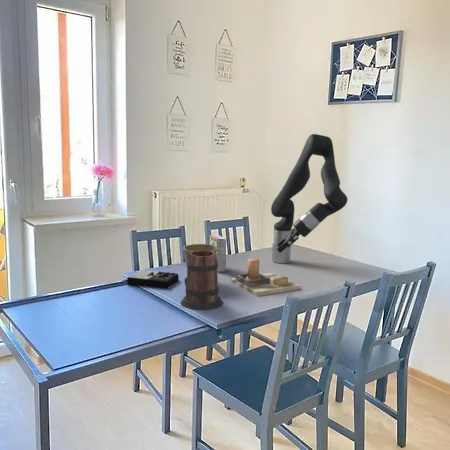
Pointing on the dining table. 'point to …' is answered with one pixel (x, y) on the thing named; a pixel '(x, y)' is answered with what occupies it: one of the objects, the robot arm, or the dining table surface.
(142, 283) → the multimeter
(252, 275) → the orange flanged cylinder
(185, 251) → the plant pot
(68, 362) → the dining table surface
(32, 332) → the dining table surface
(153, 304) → the dining table surface
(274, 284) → the carrier plate
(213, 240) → the candy bar box
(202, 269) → the tankard
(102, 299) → the dining table surface
